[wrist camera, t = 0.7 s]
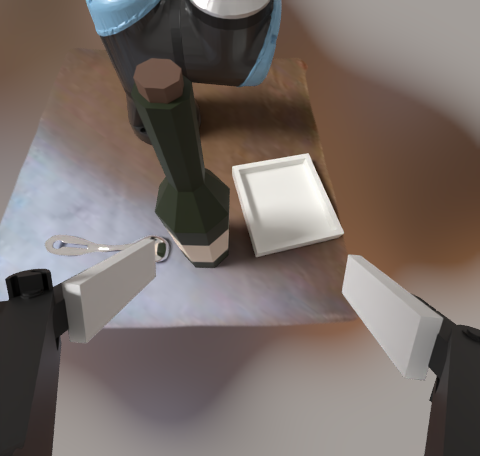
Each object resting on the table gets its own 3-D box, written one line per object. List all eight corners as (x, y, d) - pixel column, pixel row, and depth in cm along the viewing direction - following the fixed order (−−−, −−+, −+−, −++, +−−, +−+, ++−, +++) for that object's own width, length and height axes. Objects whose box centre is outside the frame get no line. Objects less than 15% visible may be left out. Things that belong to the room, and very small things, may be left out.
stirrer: (29, 253, 34) (41, 224, 35) (46, 259, 37) (56, 232, 39) (164, 261, 35) (169, 234, 37) (168, 266, 39) (172, 240, 40)
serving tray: (232, 174, 45) (232, 166, 43) (304, 161, 48) (308, 153, 45) (255, 257, 39) (257, 253, 37) (337, 238, 41) (344, 233, 39)
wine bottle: (190, 276, 37) (84, 154, 9) (177, 233, 40) (62, 39, 12) (237, 259, 39) (262, 109, 11) (220, 218, 41) (208, 17, 14)
